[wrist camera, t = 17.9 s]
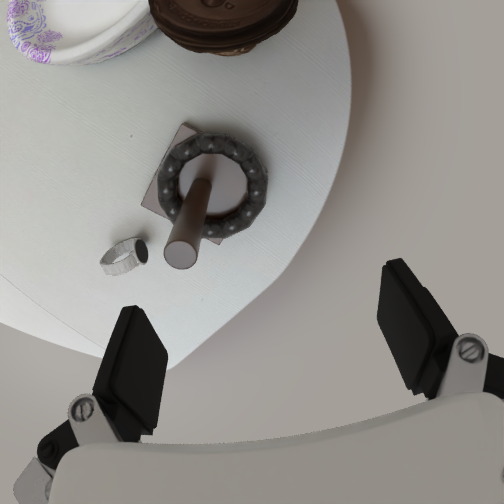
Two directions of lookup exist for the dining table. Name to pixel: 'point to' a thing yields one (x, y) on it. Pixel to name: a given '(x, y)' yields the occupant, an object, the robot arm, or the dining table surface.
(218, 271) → the dining table surface
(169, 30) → the coffee cup
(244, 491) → the robot arm
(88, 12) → the paper bowls
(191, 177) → the post
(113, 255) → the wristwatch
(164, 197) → the ring
